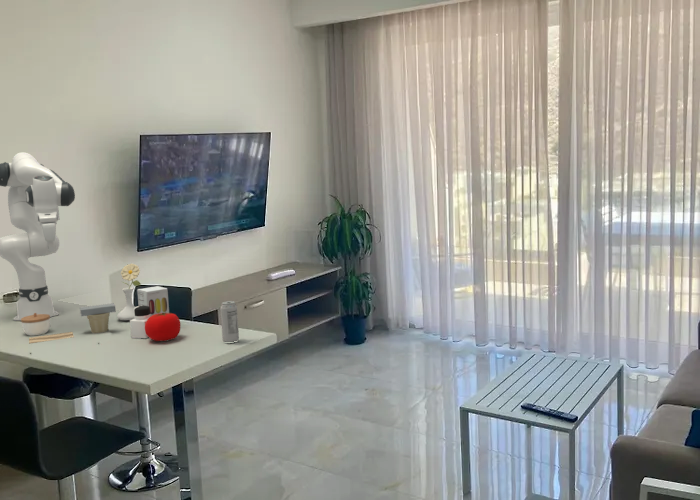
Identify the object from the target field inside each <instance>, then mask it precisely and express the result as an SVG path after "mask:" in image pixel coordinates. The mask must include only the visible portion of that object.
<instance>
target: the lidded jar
mask: <svg viewBox="0 0 700 500" xmlns="http://www.w3.org/2000/svg"><path fill="white" fill-rule="evenodd" d="M20 322H21V328H22V330H23V332H24V333H25V334H26V336H31V337H36V336H42V335H44V334H47V333H48V331H49V330H50V327H51V317H50V315H48V314H36V313H34V315H30V316H26V317H23V318H21V320H20Z"/></svg>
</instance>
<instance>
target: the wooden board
mask: <svg viewBox="0 0 700 500" xmlns="http://www.w3.org/2000/svg"><path fill="white" fill-rule="evenodd" d="M70 338H74V332H73V331H68V332H61V333H54V334H53V333H52V334H46V335H37V336H31V337H28V344H37V343H42V342H51V341H56V340H64V339H70Z"/></svg>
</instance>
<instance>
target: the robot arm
mask: <svg viewBox="0 0 700 500" xmlns="http://www.w3.org/2000/svg"><path fill="white" fill-rule="evenodd" d="M0 187H5V188H6V187H9V189H8V192H7V193H8V194H7V204H8V205H7V206H8V212H9V217H10V222H11V224H12V225H13V227H15V228H17V229H19V230H21V231H24V232H25V233H14V234H9V235H8V234H7V235H4V236H0V257H1V258H2V259H4V260H5V261H7V262H9V264H11V265H12V266H13V268H14V269H15V271H16V275H17V279H18V284H19V288H18V294H19V298H18V300H17V301H16V309H17V310H16V312H17V314H16V316H14V317H13V321H21V318H23V317H26V316H30V315H34V313H36V314H48V315H50V318H51V317H54V316H58V315H59V314H60V313H59V312H58V311H56V310H55V309H54V303H53V297H52V296H50V295H49V294H48V293H49V288H48V285H47V282H46V281H47V280H46V272H45V269H44V268H43V267H42V266H40V265H38V264H35V263H32V262H30V261H29V258H34V257H35V258H37V257H45V256H49V255H52V254H55V253H57V251H58V250H59V248H60V240H59V237H58V235H57V227H56V226H57V222H58V221H59V220H60V209H59V207H69V206H71V204H73V203H74V201H75V199H76V194H75V193H76V192H75V189H74V187H73V185H71V184H70V183H69V182H68V181H65V180H64V179H63V178H62V177H61V176H59V174H58V173H56V172H55V170H52V169H50V168H48V167H46V166H44V164H42V163H39V161H38V160H37V159H36V158H35V156H33V155H32V154H31V153H28V152H25V151H24V152H23V151H20V152H18V153H16V154H15V155H14V156H13V157H12V159H11V162H6V161H4V162H2V163H0Z"/></svg>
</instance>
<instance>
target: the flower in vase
mask: <svg viewBox="0 0 700 500" xmlns="http://www.w3.org/2000/svg"><path fill="white" fill-rule="evenodd" d="M140 272H141V270H140V267H139V265H137V264H135V263H132V262H131V263H129V264H127V265H124V266H123V268H122V269H121V271H120V275H121V277H122V279H123V280H125V281H128V282H130V281H131V283H130V284H129V283H127V282H124V281H122V283H123V284H126V285H128V286H129V287H124V288H122V289H121V290H122V291H123V293H124V295H125V300H126V301H125V302H126V303H125V304H126V305H125V306H124V307H123V308H122V309H121V310H120V311H119V312H118V314H117V315H116V319H118V320H120V321H130V320H132V319H135V317H134V308H135V307H136V306H135V305H134V304H133V301H132V300H133V299H132V295H133V291H134V289H135V288H134V287H138V286H141V285H142V283H141V282H140V281H139V280H138V279H137V278H138V277H139V275H140ZM135 279H137V280H135ZM132 285H133V286H134V287H132Z"/></svg>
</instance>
